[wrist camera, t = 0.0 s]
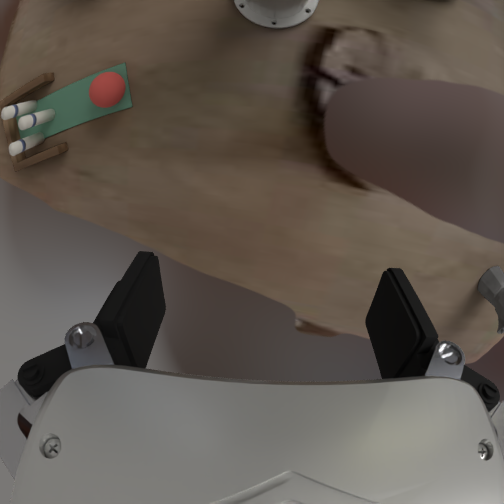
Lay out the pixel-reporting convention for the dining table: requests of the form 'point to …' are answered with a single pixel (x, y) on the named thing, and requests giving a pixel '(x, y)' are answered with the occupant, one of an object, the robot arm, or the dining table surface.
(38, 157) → the backstop
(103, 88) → the ball
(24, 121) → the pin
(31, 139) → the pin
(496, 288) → the coffeepot
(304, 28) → the dining table surface
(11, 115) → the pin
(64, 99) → the strip
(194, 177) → the dining table surface
